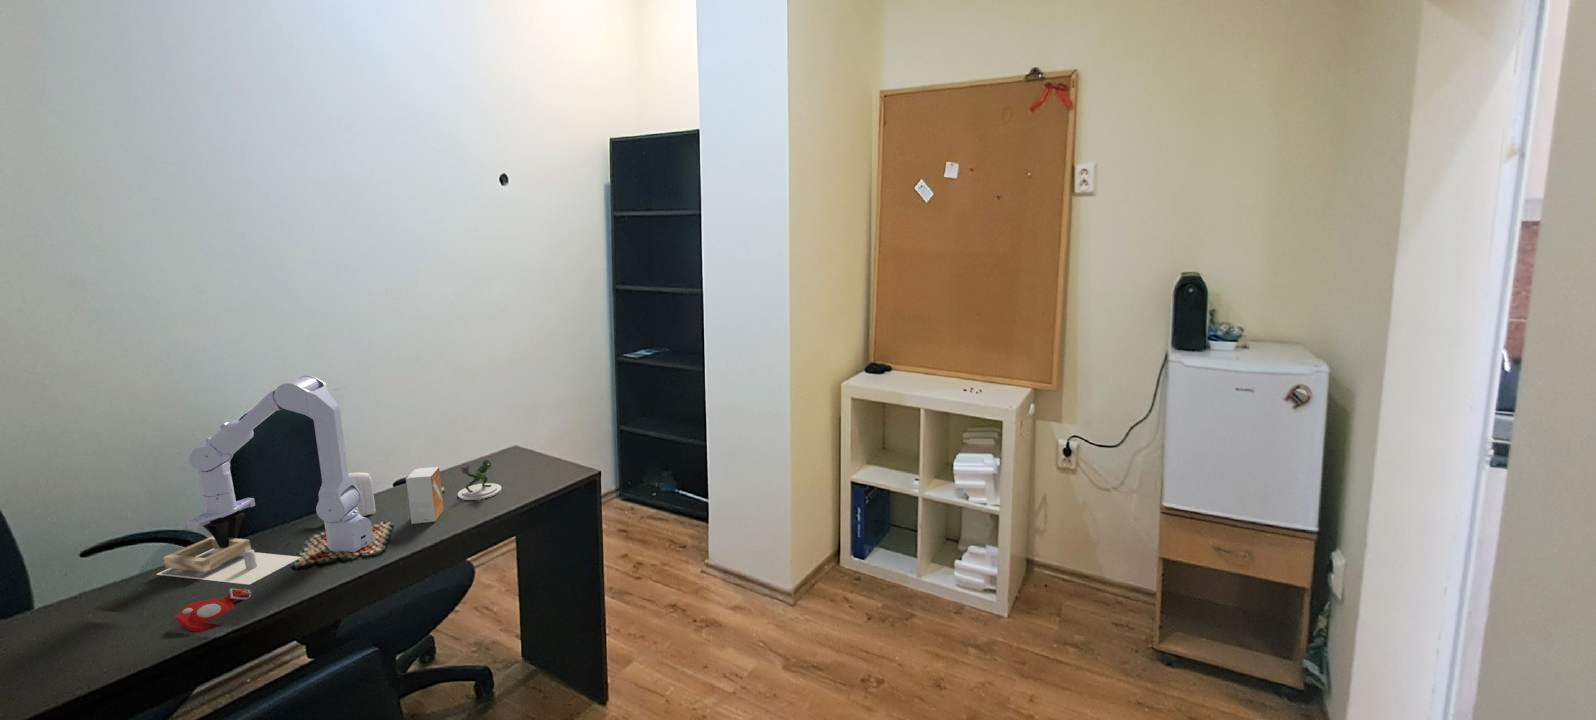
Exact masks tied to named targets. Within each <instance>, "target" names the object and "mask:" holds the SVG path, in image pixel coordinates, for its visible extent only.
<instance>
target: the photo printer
mask: <svg viewBox="0 0 1596 720" xmlns="http://www.w3.org/2000/svg"><path fill="white" fill-rule="evenodd" d="M348 476H349V477H351V478H353V479H355V483H356V486H357V488H358V489H359V491H360V492H361V500H360V502H359V504H358V505H357V507H358V511H359V514H360V515H361V516H362V517H365V516H369V515H374V514H376V502H375V496H374V488H373V487H374V485H373V480H372V478H371V476H370V474H369V473H368V472H348Z"/></svg>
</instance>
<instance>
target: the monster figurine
mask: <svg viewBox="0 0 1596 720" xmlns="http://www.w3.org/2000/svg"><path fill="white" fill-rule="evenodd" d="M491 462H492V461H490V460H488V459H485V460H484V461H483V462H482V464H481V463H480V465H476V467H478V468H477V469H476V471H475V473H469V472H470V471H469V470H470V466H469V465H467V466H466V467H465V466H464V467H462V466H460V470H461V472H462V473H463V474H465V475H467V476H469V477H470V478H472V479H473V478H474V479H473V480H471V481H470V482H469V483H468V484H467V485H466V486H465V487H464V488H463V489H460V491H458V493H457V498H458V497H459V498H460V499H464V500H473V499H484V498H486V497H491V496H493V495H495V494H497V493H498V492H499V491H501V489H503V487H502V486H501V484H498V483H489V482H488V483H487V481H488V477H487V476H486V474H487V471H488V470H489V469H490V468H492V463H491ZM478 481H481V482H482V483H477V484H475V483H476V482H478ZM501 492H502V491H501ZM459 498H458V499H459ZM491 498H492V497H491ZM460 499H459V500H460ZM464 500H463V501H464ZM484 500H485V499H484Z"/></svg>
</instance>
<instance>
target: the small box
mask: <svg viewBox="0 0 1596 720" xmlns="http://www.w3.org/2000/svg"><path fill="white" fill-rule="evenodd" d="M441 481H442V480H441V473H440V466H433V467H419V468H415V469H414V470H413V471H411V473H409V475H408V476H406V478H405V483H406V489H407V490H406V491H407V498H408V505H409V513H410V521H411V524H412V525H413V524H414V525H415V524H422V523H423V524H425V523H432V522H433V523H434V522H437V521H438V519H439V517H440V516H441V515H442V513H444V510H445V509H444V507H445V506H444V500H443V491H442V490H443V489H442V482H441Z"/></svg>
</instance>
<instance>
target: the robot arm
mask: <svg viewBox="0 0 1596 720" xmlns="http://www.w3.org/2000/svg"><path fill="white" fill-rule="evenodd" d="M327 386H328V385H327V383H326V382H324V381H323V380H321V379H319V378H318V377H315V376H313V375H302V376H300V377H298V378H297V379H295V380H291V381H289V382H286V383H282V384H280V385H279V386H277V387H276V389H274V390H271V391H270V392H268V393H267V394H266V395H265V396H264V397H263V398H262V399H260V401H259V402H258V403H257V404H256V405H255V406H253V407H252V408H251V409H250V411H248V413H246V414H245V415H244V416H243V417H242V418H240V419H239V420H236V419H235V420H231V421H229V422H228V421H226V422H224V423H222V424H220V426H219V428H220V430H218V431H217V432H216V433H215V434H214V435H213V436H210V437H208V438H206V439H205V441H204V442H205V444H204V445H201V446H197V447H195V448H193V450H192V452H191V453H190V454H189V458H188V462H189V464H190V465H191V467H192V468H194V469H195V470H197V474H198V480H199V482H200V490H201V495H202V498H203V504H204V505H203V506H204V509H205V510H204V512H202V513H201V514H199V515H197V516H196V517H194V518H193V519H190V520H188V521H186V526H187V530H189V531H197V530H198V529H200V528H201V527H203V528H205V529H206V531H208V532H209V533H210V534H211V535H212V536H213V537H214V538H215V540H216V542H217V543H218V545H219V547H220V548H227V547H229V538H237V539H239V538H238V536H239V533H240V532H239V531H240V529H241V528H240V527H241V525H242V522H243V520H244V518H245V513H244V512H241V511H242V510H244V509H247V508H253V507H255V506H256V502H255V498H254V497H246V498H243V499H240V500H236V494H235V488H234V483H233V477H232V473H231V460H232V459H233V457H234V454H235V453H236V452H238V451H239V450H240V449H241V448H242V447H243V446H245V444H247V443H248V442H249V441H250V440H252V438H254V435H255V433H254V429H255V428H256V427H258V426H259V425H260V424H261V423H263V422H264V421H265V420H267V418H269V417H270V416H271V415H273V414H274V413H275V412H276V411H280V410H283V409H284V410H286V411H289V412H290V411H291V412H295V413H297V414H301V415H305V416H307V417H309V418H310V419H312V420H313V424H314V425H313V426H314V431H315V432H314V433H315V440H316V447H317V453H318V460H319V462H318V463H319V468H320V474H321V475H320V476H321V486H320V489H319V491H318V494H317V495H318V502H317V504H316V508H315V511H316V515H317V517H319V518H320V520H322V521H323V522H324V523H323V524H324V528H325V529H324V530H325V536H326V542H327V549H328V550H329V551H331V552H352V553H355V552H357V551H359V550H361V549H363V548H366V547H367V546H368V545H370V544H372V543H373V542H375V538H374V532H373V526H372V525H373V524H372V521H371V520H370V519H369V518H368V517H365V516H361V515H360V514H359V511H358V507H357V505H358V504H359V502H360V500H361V492H360V491H359V489H358V488H357V486H356V483H355V479H353V478H351V477H349V476H348V473H349V469H348V461H347V455H346V447H345V440H344V431H343V423H342V416H341V409H340V406H339V404H338V402H337V401H336V400H335V398H334V397H333V395H331V393H330V392H329V390H328V388H327Z"/></svg>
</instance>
